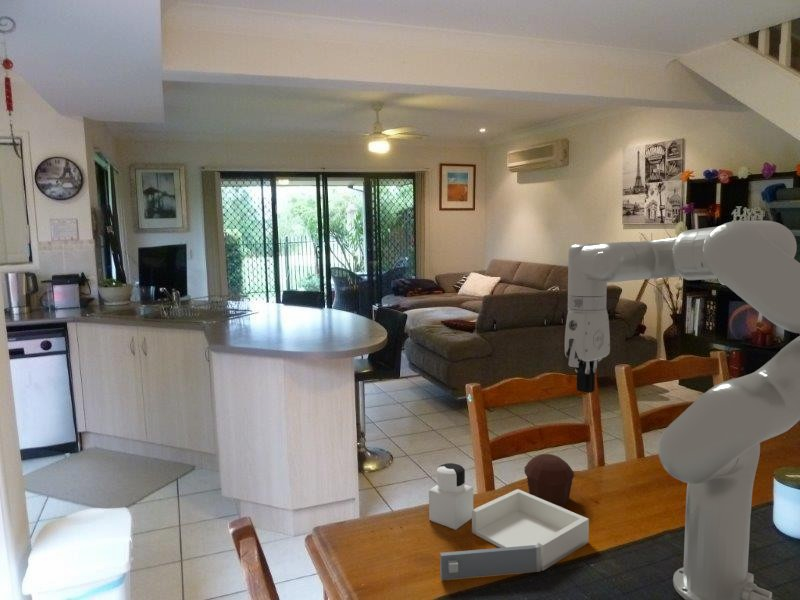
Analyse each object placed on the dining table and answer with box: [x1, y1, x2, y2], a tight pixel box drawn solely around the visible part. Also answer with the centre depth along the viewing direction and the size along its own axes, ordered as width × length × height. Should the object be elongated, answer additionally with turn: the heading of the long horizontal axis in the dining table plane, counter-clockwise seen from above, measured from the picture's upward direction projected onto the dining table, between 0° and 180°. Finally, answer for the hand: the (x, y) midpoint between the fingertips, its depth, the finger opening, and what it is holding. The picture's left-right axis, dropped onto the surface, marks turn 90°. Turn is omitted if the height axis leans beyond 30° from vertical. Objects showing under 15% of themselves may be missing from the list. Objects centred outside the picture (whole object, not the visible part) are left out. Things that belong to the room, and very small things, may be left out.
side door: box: [439, 545, 542, 581], centre depth 102 cm, size 19×2×5 cm, turn 96°
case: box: [471, 488, 590, 572], centre depth 116 cm, size 18×15×5 cm
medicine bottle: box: [428, 462, 474, 531], centre depth 124 cm, size 7×7×12 cm
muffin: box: [523, 453, 575, 507], centre depth 133 cm, size 12×11×10 cm
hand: (585, 390), depth 118 cm, fingers closed
